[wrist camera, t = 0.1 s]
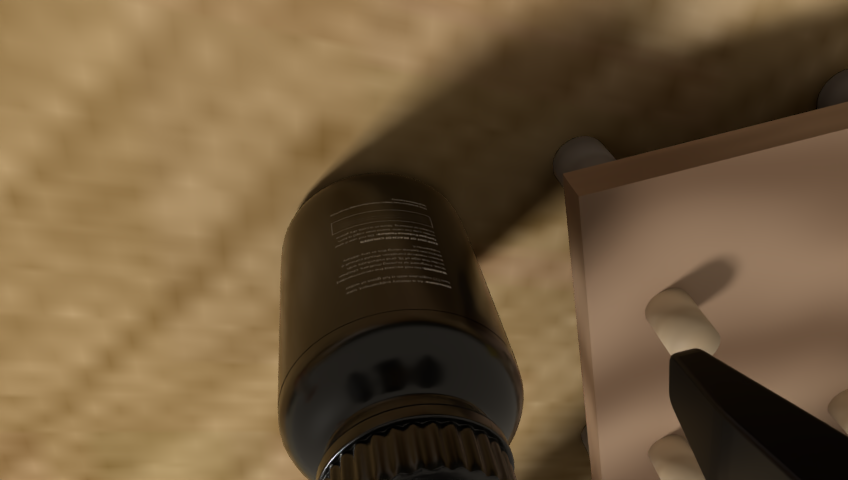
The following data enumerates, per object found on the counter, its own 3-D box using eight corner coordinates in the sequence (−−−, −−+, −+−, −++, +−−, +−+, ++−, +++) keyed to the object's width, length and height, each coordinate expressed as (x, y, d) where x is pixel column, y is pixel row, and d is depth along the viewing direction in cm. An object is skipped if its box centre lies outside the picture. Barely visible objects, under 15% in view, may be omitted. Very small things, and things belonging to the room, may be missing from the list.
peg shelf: (824, 393, 34) (923, 505, 29) (573, 459, 34) (625, 583, 29) (890, 45, 24) (1058, 116, 19) (535, 134, 24) (603, 232, 19)
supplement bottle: (248, 279, 26) (215, 587, 16) (342, 132, 23) (375, 388, 13) (401, 342, 28) (457, 638, 18) (500, 217, 26) (628, 483, 16)
